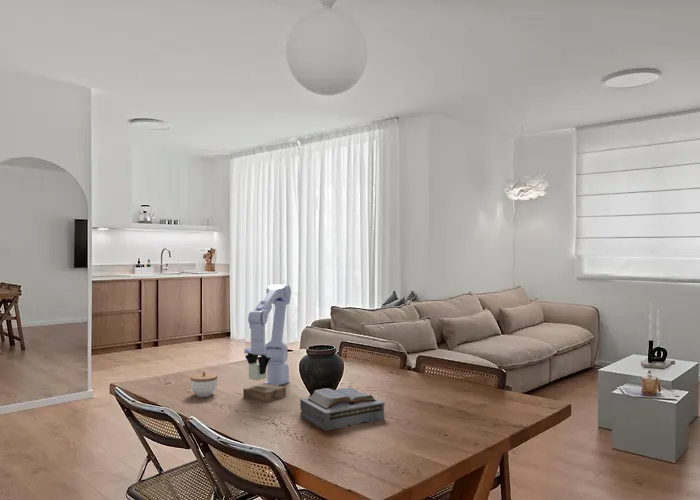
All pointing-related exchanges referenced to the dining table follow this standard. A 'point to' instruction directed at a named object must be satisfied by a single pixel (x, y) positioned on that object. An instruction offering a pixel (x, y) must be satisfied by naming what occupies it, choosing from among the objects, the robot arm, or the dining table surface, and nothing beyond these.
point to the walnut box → (264, 392)
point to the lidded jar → (204, 384)
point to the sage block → (255, 372)
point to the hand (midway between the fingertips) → (257, 372)
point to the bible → (340, 408)
